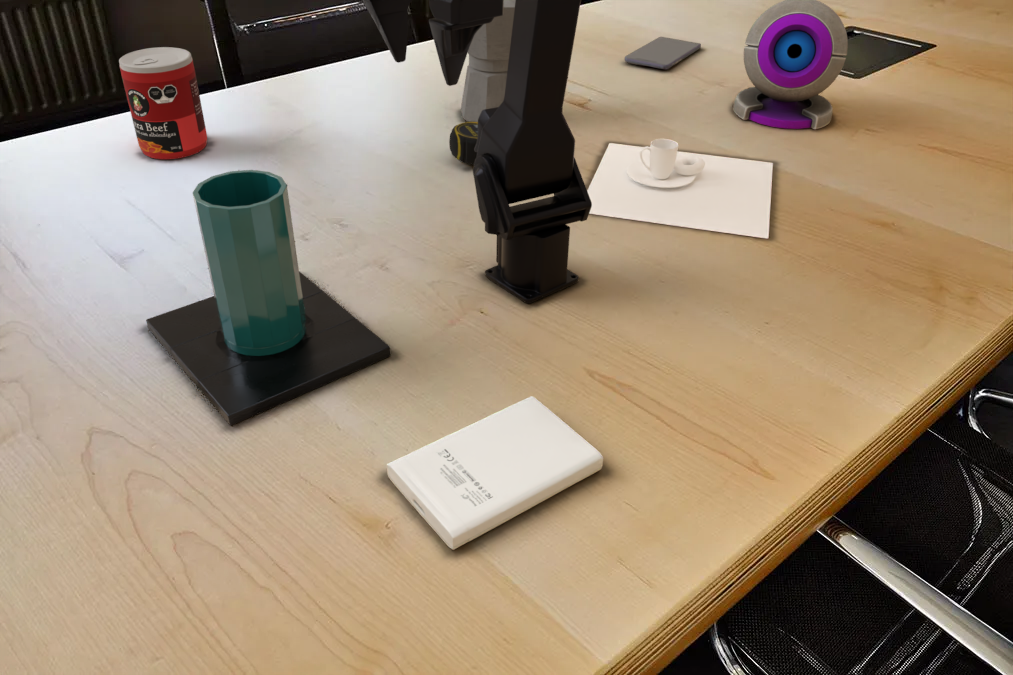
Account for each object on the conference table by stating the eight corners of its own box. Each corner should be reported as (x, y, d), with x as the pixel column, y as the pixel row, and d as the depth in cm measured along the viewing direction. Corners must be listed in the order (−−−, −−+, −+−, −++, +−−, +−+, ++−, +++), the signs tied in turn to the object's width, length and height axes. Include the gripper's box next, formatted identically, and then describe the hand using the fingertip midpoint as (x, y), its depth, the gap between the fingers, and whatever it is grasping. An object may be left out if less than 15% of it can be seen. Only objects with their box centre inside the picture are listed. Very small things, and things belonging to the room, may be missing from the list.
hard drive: (602, 472, 60) (453, 553, 53) (530, 410, 65) (387, 477, 59) (604, 455, 59) (452, 535, 52) (530, 393, 64) (385, 459, 58)
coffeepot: (468, 135, 109) (467, -14, 98) (434, 112, 115) (429, -30, 105) (567, 115, 115) (576, -27, 105) (530, 93, 122) (535, -42, 112)
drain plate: (391, 356, 70) (390, 346, 70) (230, 426, 63) (228, 415, 62) (296, 276, 80) (295, 267, 79) (148, 329, 73) (145, 319, 72)
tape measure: (514, 167, 101) (515, 137, 99) (458, 173, 99) (457, 143, 97) (496, 145, 106) (497, 116, 104) (443, 151, 105) (442, 121, 102)
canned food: (126, 152, 103) (103, 60, 96) (176, 131, 108) (157, 42, 102) (173, 165, 100) (152, 71, 93) (222, 142, 106) (205, 52, 99)
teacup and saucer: (704, 168, 102) (710, 135, 99) (698, 196, 95) (704, 162, 93) (631, 159, 104) (635, 126, 101) (620, 186, 97) (624, 152, 95)
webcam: (728, 122, 114) (748, 5, 105) (738, 92, 124) (758, -17, 115) (829, 136, 111) (859, 16, 102) (832, 104, 121) (859, -8, 112)
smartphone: (703, 43, 141) (667, 65, 130) (702, 49, 141) (667, 71, 130) (660, 35, 144) (622, 56, 133) (659, 41, 144) (621, 63, 134)
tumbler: (294, 303, 74) (273, 164, 67) (315, 344, 70) (295, 199, 62) (216, 320, 72) (186, 178, 65) (233, 364, 67) (202, 215, 60)
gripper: (550, -88, 78) (543, 81, 87) (431, -114, 90) (435, 38, 99) (453, -76, 72) (455, 104, 81) (338, -105, 84) (352, 56, 93)
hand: (425, 72), depth 89 cm, fingers open, 9 cm apart
